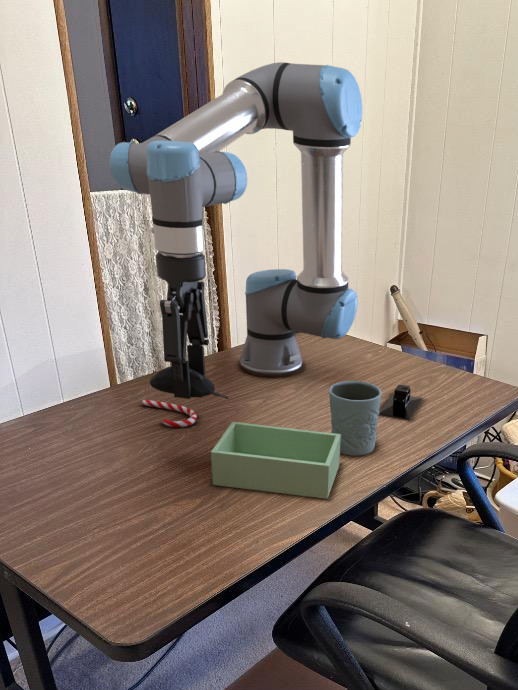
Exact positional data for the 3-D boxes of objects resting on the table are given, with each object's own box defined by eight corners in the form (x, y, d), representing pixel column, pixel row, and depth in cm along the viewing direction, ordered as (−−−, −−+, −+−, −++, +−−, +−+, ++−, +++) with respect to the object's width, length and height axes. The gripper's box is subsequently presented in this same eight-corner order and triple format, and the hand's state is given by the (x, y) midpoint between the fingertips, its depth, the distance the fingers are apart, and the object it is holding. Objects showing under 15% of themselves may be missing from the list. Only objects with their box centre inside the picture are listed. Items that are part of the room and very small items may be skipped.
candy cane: (154, 394, 150) (205, 413, 144) (154, 400, 151) (206, 419, 144) (125, 405, 144) (178, 425, 138) (126, 411, 145) (178, 431, 139)
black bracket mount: (409, 420, 151) (411, 401, 149) (377, 414, 153) (378, 395, 150) (421, 399, 161) (423, 380, 159) (391, 394, 163) (393, 375, 160)
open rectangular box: (233, 452, 133) (232, 421, 129) (339, 465, 131) (340, 434, 128) (212, 485, 122) (210, 451, 118) (327, 499, 121) (329, 465, 117)
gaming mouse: (218, 405, 116) (217, 383, 114) (142, 388, 120) (140, 366, 118) (237, 392, 121) (236, 370, 119) (164, 376, 125) (162, 355, 123)
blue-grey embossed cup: (368, 461, 133) (372, 404, 127) (319, 451, 136) (321, 394, 129) (383, 440, 142) (387, 385, 136) (336, 430, 144) (339, 376, 138)
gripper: (180, 238, 117) (189, 367, 129) (130, 263, 100) (146, 409, 112) (223, 242, 116) (228, 371, 128) (180, 268, 100) (191, 414, 112)
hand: (190, 388), depth 120 cm, fingers closed on gaming mouse, 7 cm apart
